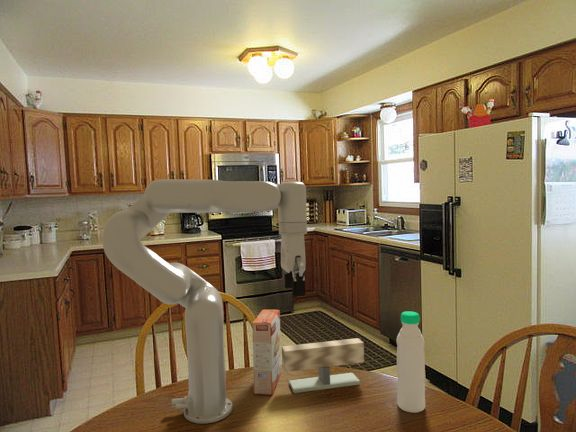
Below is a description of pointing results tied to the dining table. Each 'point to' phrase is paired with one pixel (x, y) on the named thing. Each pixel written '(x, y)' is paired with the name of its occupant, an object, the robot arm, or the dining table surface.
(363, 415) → the dining table surface
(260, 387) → the cracker box
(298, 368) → the birch bar
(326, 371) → the stand
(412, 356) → the water bottle
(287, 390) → the dining table surface
